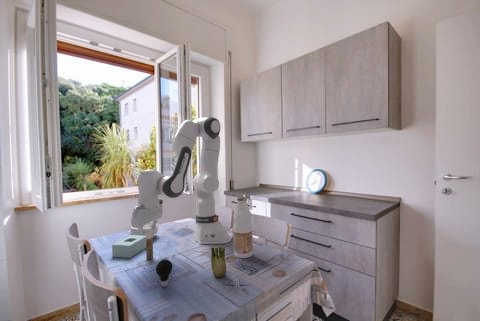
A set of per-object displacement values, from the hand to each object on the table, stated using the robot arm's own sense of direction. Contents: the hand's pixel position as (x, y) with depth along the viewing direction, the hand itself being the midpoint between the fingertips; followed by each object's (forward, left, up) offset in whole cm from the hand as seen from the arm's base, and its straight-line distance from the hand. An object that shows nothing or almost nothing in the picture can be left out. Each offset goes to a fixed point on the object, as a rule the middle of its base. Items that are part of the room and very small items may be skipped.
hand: (148, 231), depth 108 cm
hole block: (+15, -6, -13) cm, 21 cm away
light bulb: (-20, +21, -13) cm, 32 cm away
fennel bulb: (-38, +10, -13) cm, 42 cm away
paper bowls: (+20, -25, -13) cm, 35 cm away
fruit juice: (-44, -11, -13) cm, 48 cm away
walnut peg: (0, 0, -13) cm, 13 cm away
